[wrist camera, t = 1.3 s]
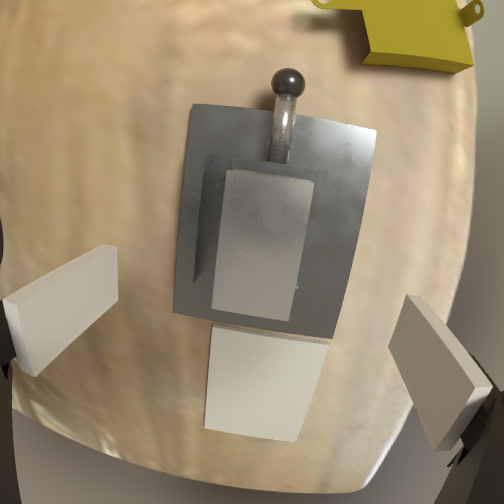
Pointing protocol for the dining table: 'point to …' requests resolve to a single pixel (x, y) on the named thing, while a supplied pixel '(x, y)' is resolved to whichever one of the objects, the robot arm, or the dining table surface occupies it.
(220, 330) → the mat
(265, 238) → the gray rectangular block
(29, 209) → the dining table surface
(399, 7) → the bracket
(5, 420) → the robot arm
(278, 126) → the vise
